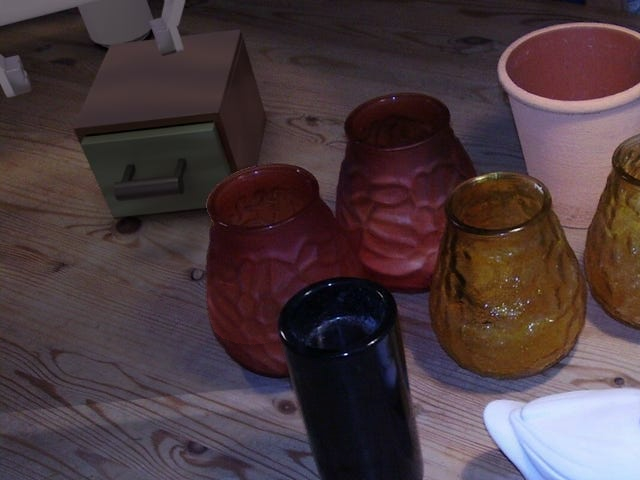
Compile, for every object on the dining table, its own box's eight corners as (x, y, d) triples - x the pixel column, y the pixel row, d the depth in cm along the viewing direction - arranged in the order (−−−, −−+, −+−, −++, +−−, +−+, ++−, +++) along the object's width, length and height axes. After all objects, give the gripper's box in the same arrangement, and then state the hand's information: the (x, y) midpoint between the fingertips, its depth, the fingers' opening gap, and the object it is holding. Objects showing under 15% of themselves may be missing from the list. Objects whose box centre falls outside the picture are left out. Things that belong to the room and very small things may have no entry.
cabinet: (248, 203, 91) (218, 111, 84) (113, 218, 91) (72, 128, 85) (266, 117, 101) (240, 28, 94) (144, 131, 102) (110, 44, 95)
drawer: (231, 234, 86) (204, 158, 81) (102, 248, 87) (67, 174, 81) (255, 122, 99) (233, 50, 93) (143, 135, 99) (114, 64, 94)
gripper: (185, -225, 57) (247, 7, 66) (-199, -145, 52) (-72, 91, 62) (208, -196, 52) (270, 47, 62) (-209, -105, 48) (-71, 140, 58)
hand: (96, 70), depth 62 cm, fingers open, 8 cm apart
